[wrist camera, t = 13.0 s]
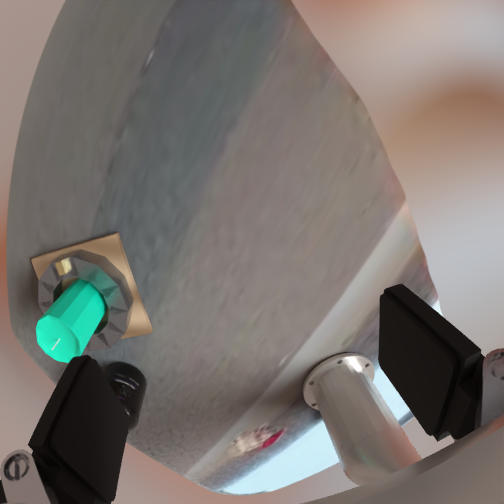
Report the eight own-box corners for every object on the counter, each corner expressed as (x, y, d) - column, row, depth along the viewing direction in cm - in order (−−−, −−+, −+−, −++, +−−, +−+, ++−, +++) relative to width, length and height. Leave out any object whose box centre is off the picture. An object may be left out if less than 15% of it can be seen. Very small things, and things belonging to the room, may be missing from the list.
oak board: (152, 329, 40) (151, 333, 39) (71, 342, 39) (69, 346, 38) (118, 232, 35) (115, 234, 34) (34, 257, 34) (30, 259, 33)
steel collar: (146, 330, 38) (141, 346, 35) (70, 342, 38) (61, 357, 34) (113, 239, 34) (102, 249, 31) (35, 262, 34) (21, 273, 30)
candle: (113, 286, 36) (79, 338, 25) (105, 323, 38) (76, 380, 26) (72, 270, 35) (28, 315, 23) (67, 308, 36) (29, 358, 25)
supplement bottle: (139, 359, 41) (122, 418, 30) (152, 392, 43) (142, 450, 32) (99, 361, 40) (75, 417, 29) (114, 393, 43) (98, 448, 31)
